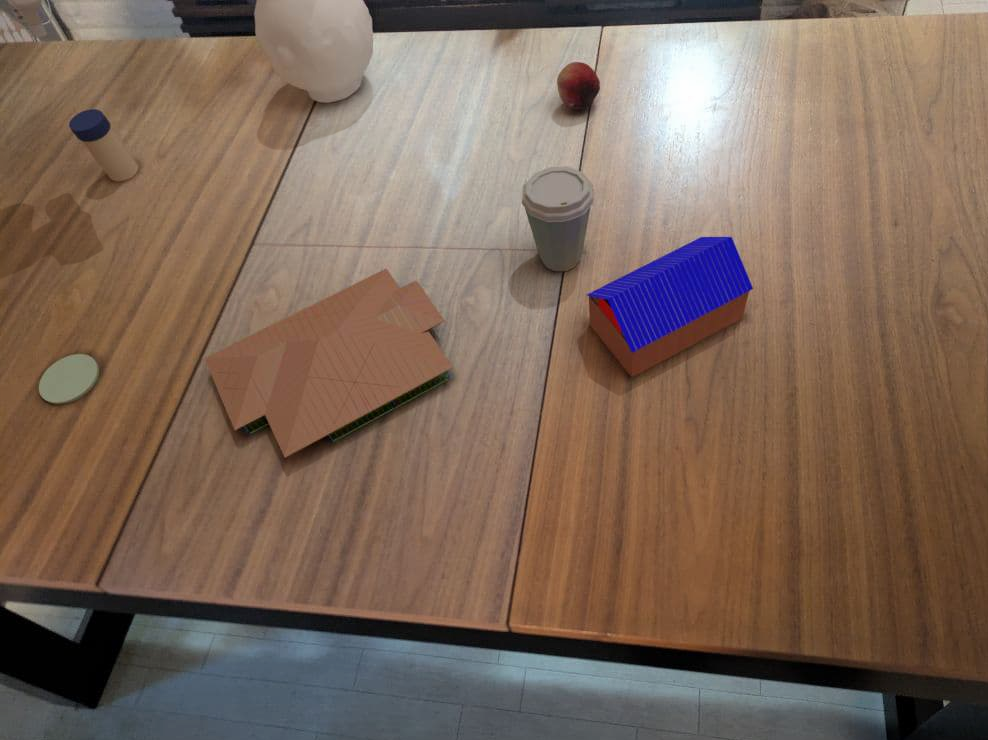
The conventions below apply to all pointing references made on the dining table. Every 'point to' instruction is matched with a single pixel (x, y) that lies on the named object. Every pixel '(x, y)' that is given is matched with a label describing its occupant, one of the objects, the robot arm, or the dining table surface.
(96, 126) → the lid
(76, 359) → the coaster
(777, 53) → the dining table surface
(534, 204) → the disposable coffee cup
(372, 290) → the brown flat stepped piece
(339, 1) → the vase
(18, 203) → the dining table surface
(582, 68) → the fruit
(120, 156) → the jar
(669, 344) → the house
